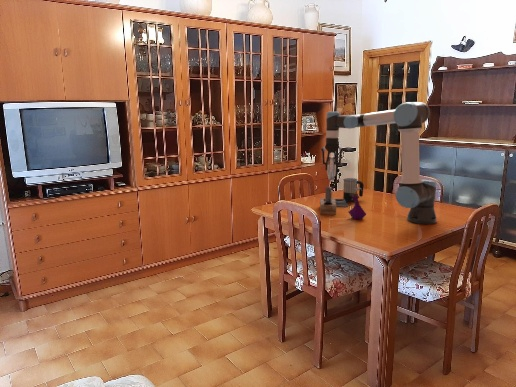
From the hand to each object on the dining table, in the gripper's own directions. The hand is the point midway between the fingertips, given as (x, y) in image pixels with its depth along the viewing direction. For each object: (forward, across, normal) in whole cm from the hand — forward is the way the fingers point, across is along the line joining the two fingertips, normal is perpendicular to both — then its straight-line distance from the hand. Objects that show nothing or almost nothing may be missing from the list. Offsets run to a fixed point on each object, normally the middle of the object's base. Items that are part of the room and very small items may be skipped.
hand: (331, 175), depth 249 cm
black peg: (+19, +2, +12) cm, 23 cm away
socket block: (+21, -6, -8) cm, 23 cm away
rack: (+21, +2, +7) cm, 22 cm away
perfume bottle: (+21, -15, +23) cm, 34 cm away
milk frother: (+21, -13, -24) cm, 34 cm away
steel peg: (+3, 0, 0) cm, 3 cm away
